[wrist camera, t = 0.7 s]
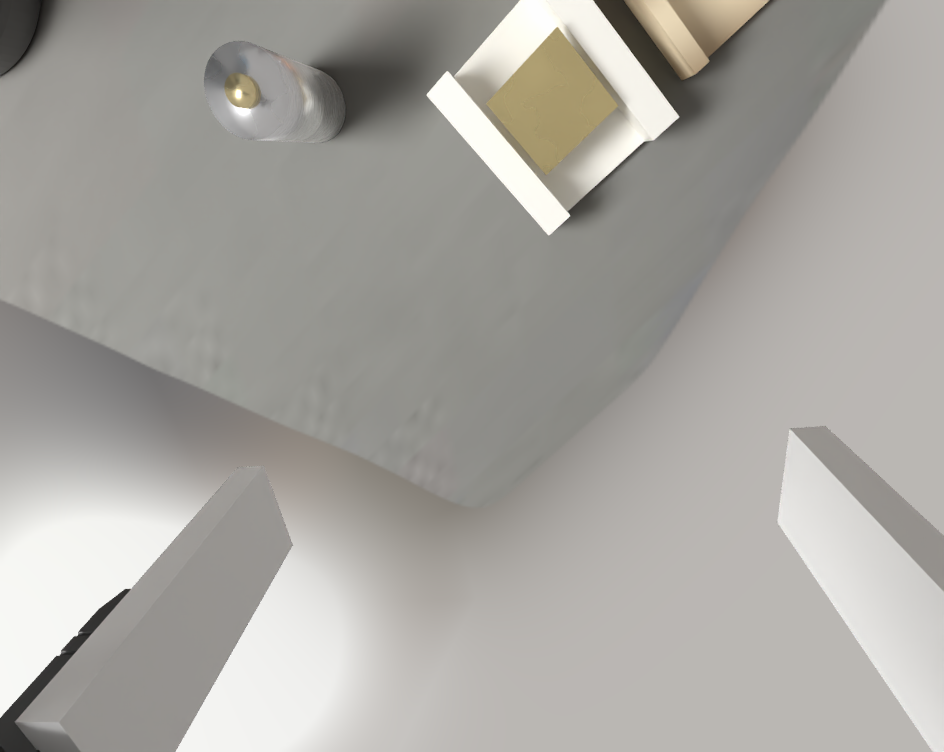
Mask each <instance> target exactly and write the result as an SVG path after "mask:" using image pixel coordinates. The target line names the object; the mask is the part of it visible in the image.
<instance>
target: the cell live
mask: <svg viewBox="0 0 944 752" xmlns="http://www.w3.org/2000/svg"><path fill="white" fill-rule="evenodd" d="M204 87H205V94H206V98H207V101H208V104H209V106H210V109H211V111H212V112H213V114H214V116H215V117H216V119H217V120H218V121H219V122H220V124H221V125H222V126H223V127H224V128H226V129H227V130H228V131H229V132H231V133H232V134H234V135H236V136H238V137H241V138H244V139H248V140H264V141H285V142H306V143H322V142H326V141H329V140H330V139H332V138H333V137H335V136H336V135H337V134H338V132H339V131H340V130H341V128H342V126H343V123H344V120H345V113H346V107H345V100H344V97H343V94H342V91H341V89H340V88H339V86H338V84H337V83H336V82H335V81H334V79H332V78H331V77H330V76H329V75H328V74H326V73H325V72H323V71H320V70H318V69H315V68H313V67H310V66H308V65H305V64H303V63H300V62H298V61H295V60H293V59H290V58H288V57H285V56H283V55H280V54H278V53H275V52H273V51H270V50H267V49H265V48H262V47H260V46H257V45H255V44H252V43H249V42H245V41H233V42H229V43H226V44H224V45H222V46H221V47H219V48H218V49H217V50H216V51H215V52H214V53H213V54H212V56H211V57H210V59H209V61H208V64H207V66H206V70H205V76H204Z"/></svg>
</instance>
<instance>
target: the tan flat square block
mask: <svg viewBox="0 0 944 752" xmlns="http://www.w3.org/2000/svg"><path fill="white" fill-rule="evenodd" d="M486 105H487V106H488V107H489V108H490V109H491V111H492V112H493V113H494V114H495V115H496V116H497V118H498V119H499V120H500V121H501V122H502V124H503V125H504V126H505V127H506V128H507V130H508V131H509V132H510V133H511V134H512V135H513V137H514V138H515V139H516V140H517V141H518V143H519V144H520V145H521V146H522V147H523V149H524V150H525V151H526V152H527V153H528V154H529V156H530V157H531V158H532V159H533V160H534V162H535V163H536V164H537V165H538V166H539V168H540V169H541V170H542V171H543V172H544V173H545V175H547V174H548V173H549V172H550V171H551V170H552V169H553V168H554V167H556V166H557V165H558V164H559V163H560V162H561V161H562V160H563V159H564V158H565V157H566V156H567V155H568V154H569V153H570V152H571V151H572V150H573V149H574V148H575V147H576V146H577V145H578V144H579V143H580V142H581V141H582V140H584V139H585V138H586V137H587V136H588V135H589V134H590V133H591V132H592V131H593V130H594V129H595V128H596V127H597V126H598V125H599V124H600V123H601V122H602V121H603V120H604V119H605V118H606V117H607V116H608V115H609V114H610V113H612V112H613V111H614V110H615V109H616V108H617V107H618V104H617V103H616V102H615V101H614V99H613V98H612V97H611V95H610V94H609V93H608V92H607V90H606V89H605V88H604V86H603V85H602V84H601V82H600V81H599V80H598V79H597V77H596V76H595V75H594V73H593V72H592V71H591V69H590V68H589V67H588V66H587V64H586V63H585V62H584V60H583V59H582V58H581V56H580V55H579V54H578V53H577V51H576V50H575V49H574V47H573V46H572V45H571V43H570V42H569V41H568V40H567V38H566V37H565V36H564V34H563V33H562V32H561V30H560V29H559V28H558V27H556V28H555V29H554V30H553V32H552V33H551V34H550V35H549V36H548V37H547V38H546V39H545V40H544V41H543V42H542V43H541V45H540V46H539V47H538V48H537V49H536V50H535V51H534V52H533V53H532V54H531V55H530V56H529V58H528V59H527V60H526V61H525V62H524V63H523V64H522V65H521V66H520V67H519V68H518V70H517V71H516V72H515V73H514V74H513V75H512V76H511V77H510V78H509V79H508V80H507V81H506V83H505V84H504V85H503V86H502V87H501V88H500V89H499V90H498V91H497V92H496V93H495V95H494V96H493V97H492V98H491V99H490V100H489V101H488V102H487V103H486Z"/></svg>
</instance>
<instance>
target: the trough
mask: <svg viewBox="0 0 944 752" xmlns="http://www.w3.org/2000/svg"><path fill="white" fill-rule="evenodd" d="M768 1H769V0H624V2H625V3H626V4H627V6H628V7H629V8H630V10H631V11H632V13H633V14H634V15H635V17H636V18H637V20H638V21H639V22H640V24H641V25H642V26H643V28H644V29H645V31H646V32H647V33H648V35H649V36H650V37H651V39H652V40H653V42H654V43H655V44H656V46H657V47H658V49H659V50H660V51H661V53H662V54H663V55H664V57H665V58H666V60H667V61H668V62H669V64H670V65H671V66H672V68H673V69H674V71H675V72H676V73H677V75H678V76H679V77H680V79H681V80H684V79H686V78H689V77H691V76H693V75H695V74H696V73H698V72H699V71H700V70H701V69H702V68H703V67H704V66H705V65H706V64H707V63H708V62H709V59H708V57H709V56H710V55H711V54H712V53H714V52H715V51H716V50H717V49H718V48H719V47H720V46H721V45H722V44H723V43H724V42H725V41H726V40H727V39H728V38H730V37H731V36H732V35H733V34H734V33H735V32H736V31H737V30H738V29H739V28H740V27H741V26H742V25H743V24H745V23H746V22H747V21H748V20H749V19H750V18H751V17H752V16H753V15H754V14H755V13H756V12H757V11H758V10H760V9H761V8H762V7H763V6H764V5H765V4H766V3H767V2H768Z"/></svg>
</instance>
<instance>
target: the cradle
mask: <svg viewBox="0 0 944 752" xmlns="http://www.w3.org/2000/svg"><path fill="white" fill-rule="evenodd" d="M556 27H558V28H559V29H560V30H561V32H562V33H563V34H564V36H565V37H566V38H567V40H568V41H569V42H570V43H571V45H572V46H573V47H574V49H575V50H576V51H577V53H578V54H579V55H580V56H581V58H582V59H583V60H584V62H585V63H586V64H587V66H588V67H589V68H590V69H591V71H592V72H593V73H594V75H595V76H596V77H597V79H598V80H599V81H600V82H601V84H602V85H603V86H604V88H605V89H606V90H607V92H608V93H609V94H610V95H611V97H612V98H613V99H614V101H615V102H616V103H617V104H618V107H617V108H616V109H615V110H614V111H613V112H612V113H610V114H609V115H608V116H607V117H606V118H605V119H604V120H603V121H602V122H601V123H600V124H599V125H598V126H597V127H596V128H595V129H594V130H593V131H592V132H591V133H590V134H589V135H588V136H587V137H586V138H585V139H584V140H582V141H581V142H580V143H579V144H578V145H577V146H576V147H575V148H574V149H573V150H572V151H571V152H570V153H569V154H568V155H567V156H566V157H565V158H564V159H563V160H562V161H561V162H560V163H559V164H558V165H557V166H556V167H554V168H553V169H552V170H551V171H550V172H549V173H548V174H547V175H545V173H544V172H543V171H542V170H541V169H540V168H539V166H538V165H537V164H536V163H535V162H534V160H533V159H532V158H531V157H530V156H529V154H528V153H527V152H526V151H525V150H524V149H523V147H522V146H521V145H520V144H519V143H518V141H517V140H516V139H515V138H514V137H513V135H512V134H511V133H510V132H509V131H508V130H507V128H506V127H505V126H504V125H503V124H502V122H501V121H500V120H499V119H498V118H497V116H496V115H495V114H494V113H493V112H492V111H491V109H490V108H489V107H488V106H487V105H486V103H487V102H488V101H489V100H490V99H491V98H492V97H493V96H494V95H495V93H496V92H497V91H498V90H499V89H500V88H501V87H502V86H503V85H504V84H505V83H506V81H507V80H508V79H509V78H510V77H511V76H512V75H513V74H514V73H515V72H516V71H517V70H518V68H519V67H520V66H521V65H522V64H523V63H524V62H525V61H526V60H527V59H528V58H529V56H530V55H531V54H532V53H533V52H534V51H535V50H536V49H537V48H538V47H539V46H540V45H541V43H542V42H543V41H544V40H545V39H546V38H547V37H548V36H549V35H550V34H551V33H552V32H553V30H554V29H555V28H556ZM427 96H428V97H429V99H430V100H431V101H432V102H433V103H434V104H435V106H436V107H437V108H438V109H439V110H440V111H441V112H442V114H443V115H444V116H445V117H446V118H447V119H448V120H449V122H450V123H451V124H452V125H453V126H454V127H455V128H456V130H457V131H458V132H459V133H460V134H461V135H462V137H463V138H464V139H465V140H466V141H467V142H468V143H469V145H470V146H471V147H472V148H473V149H474V150H475V151H476V153H477V154H478V155H479V156H480V157H481V158H482V159H483V161H484V162H485V163H486V164H487V165H488V166H489V168H490V169H491V170H492V171H493V172H494V173H495V174H496V176H497V177H498V178H499V179H500V180H501V181H502V182H503V184H504V185H505V186H506V187H507V188H508V189H509V191H510V192H511V193H512V194H513V195H514V196H515V197H516V199H517V200H518V201H519V202H520V203H521V204H522V205H523V207H524V208H525V209H526V210H527V211H528V212H529V213H530V215H531V216H532V217H533V218H534V219H535V220H536V222H537V223H538V224H539V225H540V226H541V227H542V228H543V230H544V231H545V232H546V233H547V234H548V235H550V234H551V233H552V232H553V231H554V230H555V229H557V228H558V227H559V226H560V225H561V224H562V223H563V222H564V221H565V220H566V219H568V218H569V217H570V214H569V213H568V211H569V210H570V209H571V208H572V207H573V206H574V205H575V204H576V203H577V202H578V201H579V200H581V199H582V198H583V197H584V196H585V195H586V194H587V193H588V192H589V191H590V190H591V189H593V188H594V187H595V186H596V185H597V184H598V183H599V182H600V181H601V180H602V179H604V178H605V177H606V176H607V175H608V174H609V173H610V172H611V171H612V170H613V169H614V168H616V167H617V166H618V165H619V164H620V163H621V162H622V161H623V160H624V159H625V158H626V157H628V156H629V155H630V154H631V153H632V152H633V151H634V150H635V149H636V148H637V147H638V146H640V145H641V144H642V143H643V142H644V141H653V140H655V139H656V138H657V137H658V136H659V135H660V134H661V133H662V132H663V131H664V130H666V129H667V128H668V127H669V126H670V125H671V124H672V123H673V122H674V121H675V120H677V119H678V118H679V116H678V114H677V113H676V112H675V110H674V109H673V108H672V106H671V105H670V104H669V102H668V101H667V100H666V98H665V97H664V96H663V94H662V93H661V91H660V90H659V89H658V87H657V86H656V85H655V83H654V82H653V81H652V79H651V78H650V77H649V75H648V74H647V73H646V71H645V70H644V69H643V67H642V66H641V64H640V63H639V62H638V60H637V59H636V58H635V56H634V55H633V54H632V52H631V51H630V50H629V48H628V47H627V46H626V44H625V43H624V42H623V40H622V39H621V37H620V36H619V35H618V33H617V32H616V31H615V29H614V28H613V27H612V25H611V24H610V23H609V21H608V20H607V19H606V17H605V16H604V15H603V13H602V12H601V10H600V9H599V8H598V6H597V5H596V4H595V2H594V1H593V0H520V1H519V2H518V4H517V5H516V6H515V7H514V8H513V9H512V10H511V12H510V13H509V14H508V15H507V16H506V17H505V19H504V20H503V21H502V22H501V23H500V24H499V25H498V27H497V28H496V29H495V30H494V31H493V32H492V33H491V35H490V36H489V37H488V38H487V39H486V40H485V41H484V43H483V44H482V45H481V46H480V47H479V48H478V49H477V51H476V52H475V53H474V54H473V55H472V56H471V57H470V59H469V60H468V61H467V62H466V63H465V64H464V66H463V67H462V68H461V69H460V70H459V71H458V72H457V74H456V75H455V76H454V77H453V76H452V75H451V74H450V73H449V72H448V71H447V72H446V73H445V74H444V75H443V76H442V77H441V79H440V80H439V81H438V82H437V83H436V84H435V86H434V87H433V88H432V89H431V90H430V91H429V93H428V94H427Z"/></svg>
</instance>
